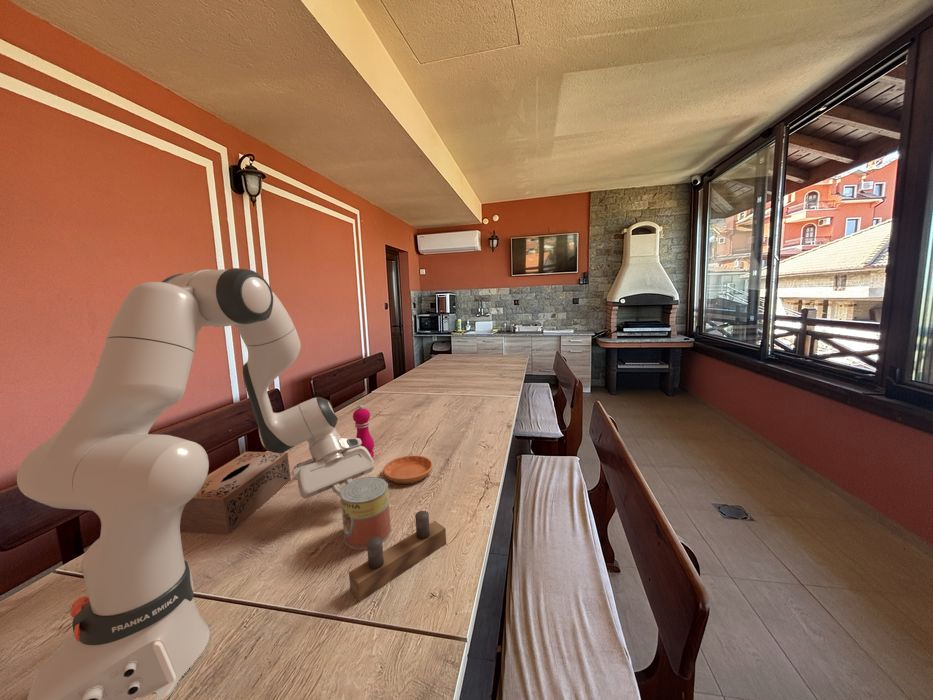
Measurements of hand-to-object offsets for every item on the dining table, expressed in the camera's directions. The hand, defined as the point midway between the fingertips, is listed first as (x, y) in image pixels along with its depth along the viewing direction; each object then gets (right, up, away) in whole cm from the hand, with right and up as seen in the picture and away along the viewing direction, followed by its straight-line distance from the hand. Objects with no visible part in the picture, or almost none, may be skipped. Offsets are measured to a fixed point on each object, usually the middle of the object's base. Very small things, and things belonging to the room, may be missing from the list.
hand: (348, 498), depth 94 cm
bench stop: (+18, -7, -17) cm, 26 cm away
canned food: (+7, -6, -6) cm, 11 cm away
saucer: (+13, -2, +22) cm, 26 cm away
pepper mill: (-6, 0, +35) cm, 36 cm away
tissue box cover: (-34, -6, +8) cm, 36 cm away
